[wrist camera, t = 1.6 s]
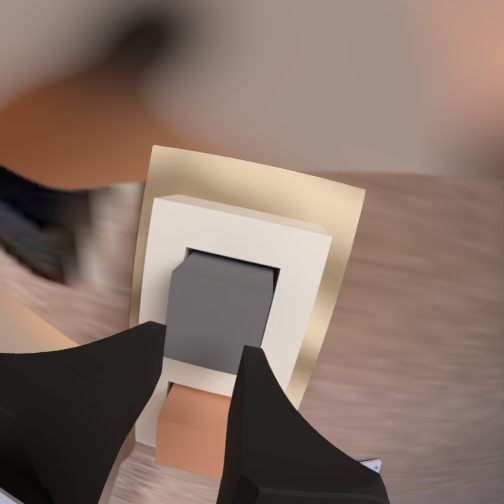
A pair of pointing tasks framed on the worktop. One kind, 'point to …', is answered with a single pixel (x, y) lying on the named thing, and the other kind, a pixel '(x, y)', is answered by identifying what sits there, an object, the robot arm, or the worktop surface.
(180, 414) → the terracotta plunger
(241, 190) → the birch board
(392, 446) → the worktop surface
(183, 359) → the grey cube
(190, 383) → the plunger panel
